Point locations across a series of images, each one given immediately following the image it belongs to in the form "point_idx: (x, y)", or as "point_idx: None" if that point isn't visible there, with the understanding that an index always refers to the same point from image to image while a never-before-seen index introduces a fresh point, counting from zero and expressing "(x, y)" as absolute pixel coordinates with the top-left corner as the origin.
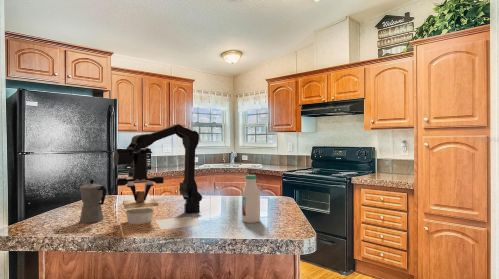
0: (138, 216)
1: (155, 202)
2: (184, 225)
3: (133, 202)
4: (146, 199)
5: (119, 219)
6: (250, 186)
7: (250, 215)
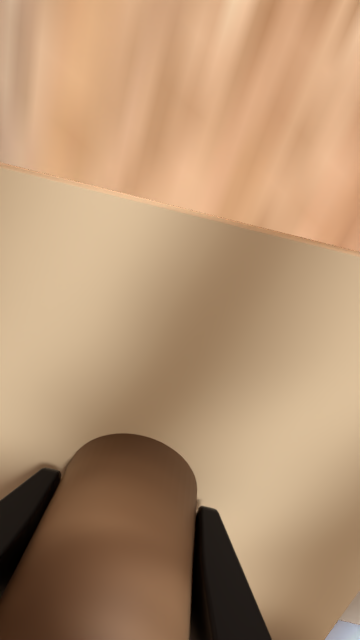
0: None
1: (303, 626)
2: (355, 603)
3: (26, 444)
4: (346, 327)
5: (26, 53)
6: None
7: None
